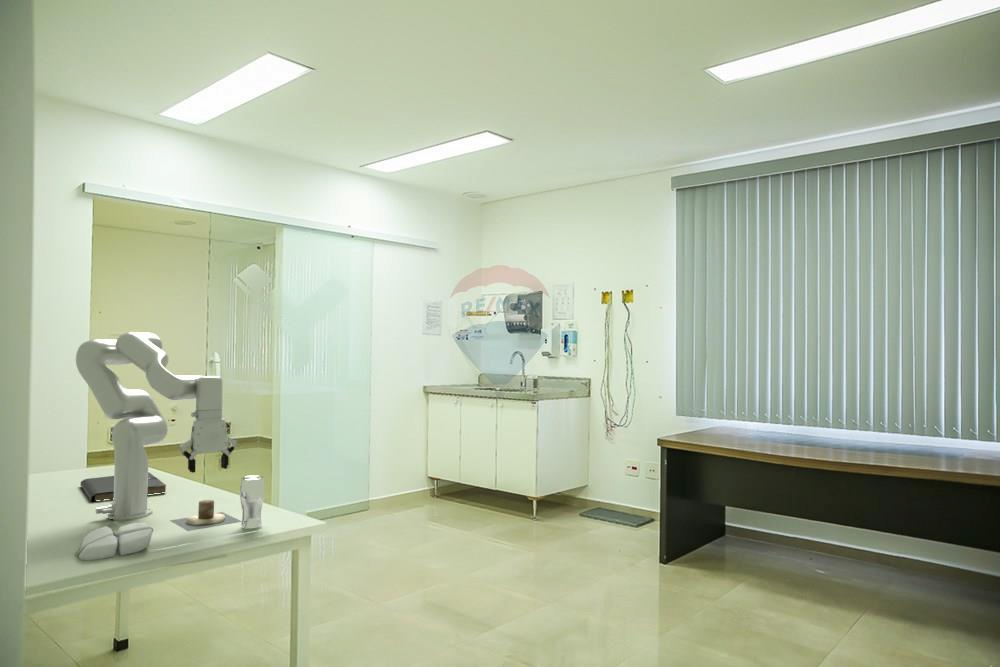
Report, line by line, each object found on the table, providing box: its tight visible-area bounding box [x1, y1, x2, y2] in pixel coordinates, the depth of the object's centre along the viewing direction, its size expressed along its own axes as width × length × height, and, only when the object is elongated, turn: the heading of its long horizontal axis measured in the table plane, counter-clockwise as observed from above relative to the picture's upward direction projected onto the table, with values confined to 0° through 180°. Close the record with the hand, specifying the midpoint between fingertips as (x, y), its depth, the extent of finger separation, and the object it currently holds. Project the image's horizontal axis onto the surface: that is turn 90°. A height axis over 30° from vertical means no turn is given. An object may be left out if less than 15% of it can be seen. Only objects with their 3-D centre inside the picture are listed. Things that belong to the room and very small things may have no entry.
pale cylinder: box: [239, 475, 265, 529], centre depth 195 cm, size 7×7×15 cm
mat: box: [170, 511, 242, 532], centre depth 199 cm, size 16×16×1 cm
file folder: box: [80, 471, 167, 502], centre depth 244 cm, size 33×4×24 cm
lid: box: [186, 499, 225, 525], centre depth 199 cm, size 11×11×6 cm
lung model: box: [76, 522, 154, 561], centre depth 175 cm, size 7×17×25 cm
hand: (208, 470), depth 200 cm, fingers open, 9 cm apart
